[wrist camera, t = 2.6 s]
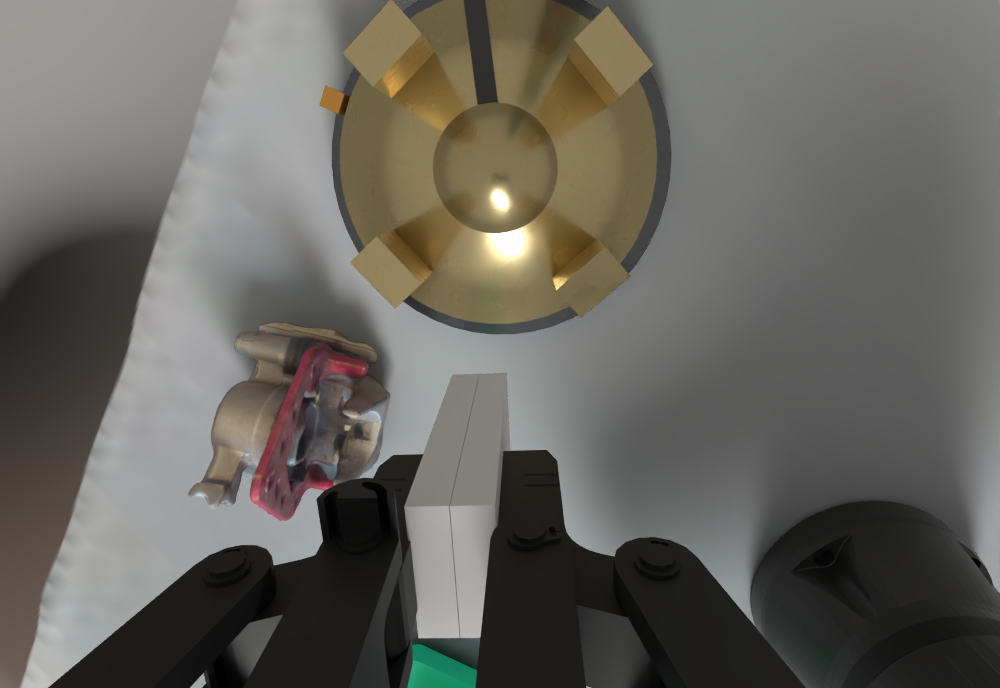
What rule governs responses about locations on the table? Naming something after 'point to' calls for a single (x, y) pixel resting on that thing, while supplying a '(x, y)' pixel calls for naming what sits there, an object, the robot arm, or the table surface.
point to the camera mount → (439, 671)
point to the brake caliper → (295, 419)
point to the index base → (339, 104)
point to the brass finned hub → (497, 157)
